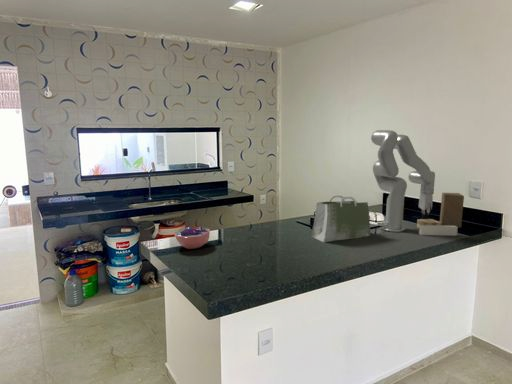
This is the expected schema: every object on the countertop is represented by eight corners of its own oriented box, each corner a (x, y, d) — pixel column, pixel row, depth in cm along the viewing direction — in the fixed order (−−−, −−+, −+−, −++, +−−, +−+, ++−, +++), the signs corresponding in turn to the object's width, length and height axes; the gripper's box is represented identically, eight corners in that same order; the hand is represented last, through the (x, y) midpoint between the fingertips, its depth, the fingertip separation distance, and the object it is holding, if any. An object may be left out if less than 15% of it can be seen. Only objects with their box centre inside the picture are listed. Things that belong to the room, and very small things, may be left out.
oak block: (424, 231, 226) (425, 222, 225) (416, 227, 234) (417, 219, 234) (440, 230, 227) (441, 222, 226) (432, 226, 235) (432, 218, 235)
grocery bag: (355, 230, 227) (357, 191, 223) (371, 236, 214) (373, 195, 210) (309, 236, 214) (310, 195, 210) (323, 243, 201) (325, 200, 197)
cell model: (218, 244, 198) (218, 223, 196) (193, 255, 181) (192, 232, 179) (193, 239, 207) (192, 219, 205) (167, 249, 190) (166, 227, 188)
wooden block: (461, 228, 231) (464, 195, 228) (443, 227, 233) (446, 195, 230) (456, 224, 241) (459, 193, 238) (439, 223, 243) (441, 192, 240)
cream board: (420, 234, 216) (421, 226, 215) (418, 233, 219) (419, 225, 218) (456, 235, 215) (457, 227, 214) (454, 234, 218) (455, 225, 217)
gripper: (416, 189, 241) (414, 217, 244) (425, 193, 226) (423, 223, 229) (428, 189, 241) (426, 217, 244) (438, 193, 226) (435, 223, 229)
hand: (424, 220), depth 237 cm, fingers closed
